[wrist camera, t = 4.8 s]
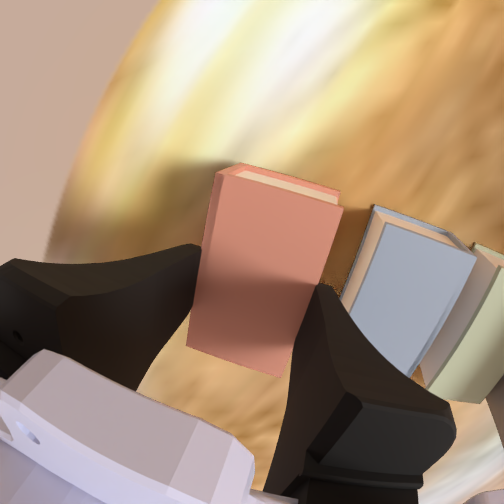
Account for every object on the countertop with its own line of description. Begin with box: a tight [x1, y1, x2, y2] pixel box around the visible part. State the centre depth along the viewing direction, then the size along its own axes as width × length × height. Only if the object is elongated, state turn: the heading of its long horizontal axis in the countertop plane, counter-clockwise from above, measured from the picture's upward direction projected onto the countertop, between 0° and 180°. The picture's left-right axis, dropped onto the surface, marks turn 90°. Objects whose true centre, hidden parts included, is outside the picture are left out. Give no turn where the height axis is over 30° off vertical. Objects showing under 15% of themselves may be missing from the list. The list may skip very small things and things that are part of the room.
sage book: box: [419, 243, 504, 404], centre depth 12 cm, size 7×4×3 cm, turn 167°
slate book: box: [339, 204, 477, 378], centre depth 13 cm, size 7×4×3 cm, turn 167°
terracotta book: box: [186, 163, 344, 378], centre depth 12 cm, size 7×4×3 cm, turn 167°
